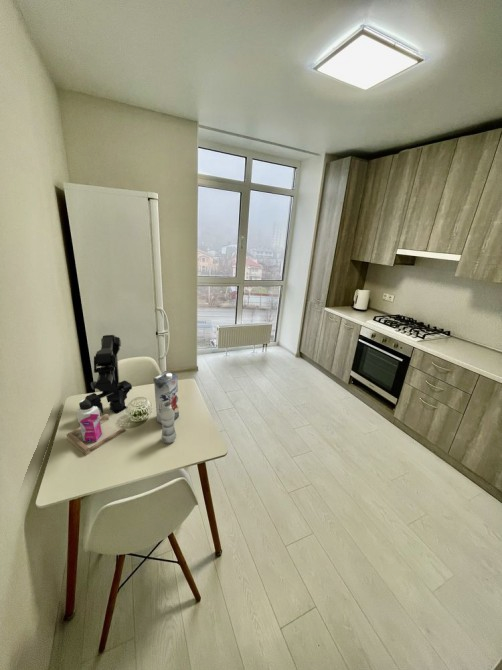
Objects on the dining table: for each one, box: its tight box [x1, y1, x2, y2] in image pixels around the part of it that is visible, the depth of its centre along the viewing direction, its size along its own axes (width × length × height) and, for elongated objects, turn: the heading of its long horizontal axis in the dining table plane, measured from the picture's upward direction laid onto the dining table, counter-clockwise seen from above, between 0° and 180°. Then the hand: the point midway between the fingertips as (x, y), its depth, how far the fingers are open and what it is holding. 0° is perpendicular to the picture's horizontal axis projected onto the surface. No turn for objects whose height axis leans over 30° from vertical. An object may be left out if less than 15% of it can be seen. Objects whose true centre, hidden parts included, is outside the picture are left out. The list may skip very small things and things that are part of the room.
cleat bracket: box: [66, 413, 126, 456], centre depth 123 cm, size 18×16×3 cm
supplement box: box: [79, 414, 103, 443], centre depth 120 cm, size 6×6×12 cm
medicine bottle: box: [76, 398, 101, 424], centre depth 130 cm, size 7×7×12 cm
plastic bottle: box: [160, 402, 177, 444], centre depth 120 cm, size 6×7×20 cm
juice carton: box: [153, 370, 180, 424], centre depth 132 cm, size 9×10×27 cm
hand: (111, 408), depth 123 cm, fingers open, 9 cm apart
